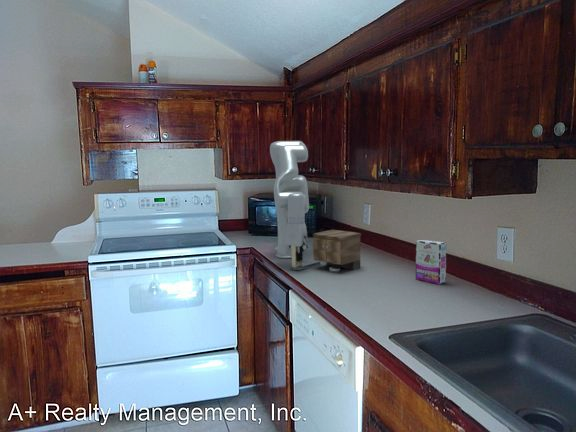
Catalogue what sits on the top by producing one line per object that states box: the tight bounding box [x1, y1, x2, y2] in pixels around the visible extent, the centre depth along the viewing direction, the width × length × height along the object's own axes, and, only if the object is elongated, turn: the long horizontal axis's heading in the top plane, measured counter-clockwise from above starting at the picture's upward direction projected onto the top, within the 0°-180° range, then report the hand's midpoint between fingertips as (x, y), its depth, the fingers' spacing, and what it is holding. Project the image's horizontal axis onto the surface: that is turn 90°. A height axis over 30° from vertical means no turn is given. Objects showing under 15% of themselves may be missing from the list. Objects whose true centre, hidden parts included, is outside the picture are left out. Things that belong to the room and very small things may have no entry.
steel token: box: [329, 266, 342, 273], centre depth 194 cm, size 5×5×2 cm
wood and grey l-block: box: [291, 246, 321, 271], centre depth 201 cm, size 4×16×12 cm, turn 134°
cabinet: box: [312, 229, 362, 271], centre depth 197 cm, size 17×16×16 cm
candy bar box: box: [415, 239, 447, 285], centre depth 173 cm, size 11×5×16 cm, turn 40°
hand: (297, 260), depth 197 cm, fingers closed on wood and grey l-block, 2 cm apart
